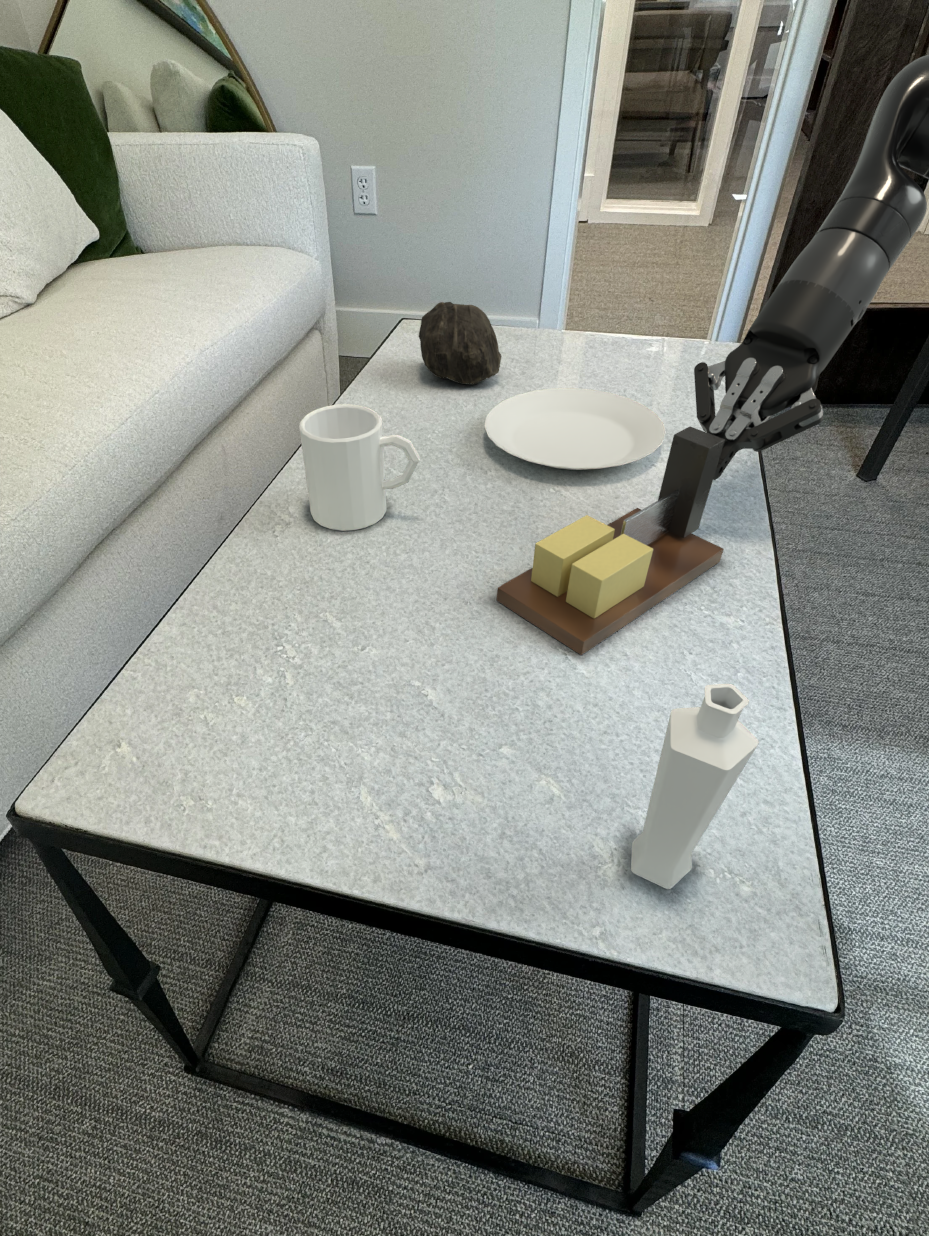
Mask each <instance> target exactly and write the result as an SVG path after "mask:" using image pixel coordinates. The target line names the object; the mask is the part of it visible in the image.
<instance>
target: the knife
mask: <svg viewBox="0 0 929 1236" xmlns="http://www.w3.org/2000/svg"><path fill="white" fill-rule="evenodd" d="M724 441H725V439H722V438H719V437H717V436H714V435H711V434H709V433H707V432H704V430H700V429H698V428H696V427H693V426H688V427H686V428H684V429H682V430H680V431H678V432H676V433H674V434H673V437H672V440H671V445H670V450H669V454H668V457H667V461H666V466H665V470H664V473H663V477H662V482H661V486H660V490H659V494H658V498H657V500H656V501H655V502H653V503H651V504H649V505H647V506H646V507H644V508H641V511H639V512H637V513H636V514H634V515H632V516H630V517H629V518H627V519H625V520H624V522H623V526H622V531H621V535H622V534H625V535H627V536H629V537H631V538H633V539H635V540H637V541H639V542H641V543H643V544H645V545H648V544H650V543H651V542H653V541H655V540H656V539H658V538H660V537H661V536H663V535H665V534H666V533H668V532H669V531H670V532H672V533H674V534H676V535H678V536H680V537H682V538H684V537H686V536H688V535H689V534H691V533H692V534H693V533H694V532H696V531H698V530H699V528H700V524H701V522H702V518H703V514H704V511H705V508H706V505H707V501H708V497H709V496H710V495H709V494H710V491H711V488H712V484H713V482H714V480H713V478H714V475H715V471H716V468H717V465H718V461H719V458H720V455H721V451H722V448H723V445H724Z"/></svg>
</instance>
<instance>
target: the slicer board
mask: <svg viewBox="0 0 929 1236" xmlns="http://www.w3.org/2000/svg"><path fill="white" fill-rule="evenodd" d="M641 510H642V508H639V507H636V508H634V509H633V510H631V511H629V512H627V513H625V514H624V515H622V516H620V517H618V518H616V519H614V520H613V521H612V522H610V523H608V524H607V525H608V526H610V527H612V528H614V529H615V531H614V536H613V540H614V539H615V538H617V537H619V536H620V535H621V531H622V526H623V522H624V520H625V519H627V518H629V517H630V516H632V515H634V514H636V513H637V512H639V511H641ZM647 546H649V547H651V548H653V552H652V556H651V560H650V564H649V568H648V572H647V576H646V580H645V584H644V587H642V588H641V589H639V590H638V591H636V592H635V593H633V594H632V595H630V596H628V597H627V598H625V599H624V600H622V601H621V602H619V603H618V604H616V605H615V606H613V607H611V608H610V609H608V610H607V611H605V612H604V613H602V614H601V615H599V616H598V617H596V618H595V619H594V618H592V617H590V616H589V615H587V614H585V613H584V612H582V611H580V610H579V609H577V608H575V607H574V606H572V605H570V604H569V603H567V602H566V597H567V591H566V592H565V593H563V594H561V595H560V596H558V597H557V596H555V595H554V594H552V593H550V592H549V591H547V590H545V589H544V588H542V587H540V586H539V585H537V584H535V583H534V582H532V581H531V577H532V568H533V567H531V568H529V569H527V570H526V571H524V572H522V573H520V574H518V575H517V576H515V577H513V578H512V579H510V580H508V581H507V582H505V583H503V584H501V585H499V586H498V587H497V588H496V589H497V591H496V601H497V602H498V603H500V604H501V605H503V606H504V607H506V608H507V609H509V610H510V611H512V612H513V613H515V614H516V615H518V616H519V617H521V618H523V619H524V620H525V621H527V622H529V623H531V624H532V625H534V626H535V627H537V628H538V629H540V630H541V631H543V632H545V633H546V634H547V635H549V636H550V637H552V638H554V639H555V640H557V642H560V643H561V644H563V645H565V646H566V647H568V648H569V649H571V650H572V651H574V652H575V653H577V654H578V655H580V656H582V655H584V654H585V653H588V652H589V651H590V650H592V649H594V648H595V647H596V646H598V645H599V644H600V643H602V642H604V641H605V640H607V639H608V638H609V637H611V636H612V635H614V634H615V633H617V632H618V631H620V630H621V629H622V628H624V627H626V626H627V625H628V624H630V623H631V622H633V621H634V620H636V619H637V618H639V617H641V616H642V615H644V614H645V613H646V612H648V611H649V610H651V609H652V608H654V607H655V606H657V605H658V604H659V603H661V602H663V601H664V600H666V599H667V598H669V597H670V596H671V595H673V594H674V593H676V592H677V591H679V590H680V589H683V588H684V587H685V586H686V585H688V584H689V583H691V582H692V581H694V580H695V579H696V578H699V576H702V575H703V574H704V573H706V572H707V571H708V570H710V569H711V568H713V567H715V566H716V565H718V564H719V563H720V562H721V559H722V556H723V553H724V550H725V548H723V547H721V546H719V545H717V544H715V543H713V542H711V541H709V540H706V539H705V538H702V537H700V536H698V535H696V534H693V532H692V533H691V534H689V535H688V536H686V537H684V538H682V537H680V536H678V535H676V534H674V533H672V532H670V531H669V532H668V533H666V534H665V535H663V536H661V537H660V538H658V539H656V540H655V541H653V542H651V543H650V544H648V545H647Z"/></svg>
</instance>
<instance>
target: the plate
mask: <svg viewBox="0 0 929 1236" xmlns="http://www.w3.org/2000/svg"><path fill="white" fill-rule="evenodd" d="M483 425H484V426H483V427H484V429H485V432H486V435H487V438H488V439H489V440H491V442H492V443H493V444H494V445H495V446H496V447H497V448H499V449H501V450H503V451H505V452H506V453H508V454H509V455H511V456H514V457H516V458H519V459H521V460H524V461H527V462H529V463H533V464H537V465H541V466H546V467H548V468H549V467H550V468H554V469H560V470H568V471H582V470H583V471H584V470H585V471H586V470H587V471H588V470H598V469H600V470H601V469H607V468H614V467H620V466H623V465H627V464H632V463H634V462H638V461H640V460H642V459H644V458H646V457H647V456H650V455H651V454H653V453H655V452H656V451H657V449H658V448H659V447H660V446H661V445H662V444H663V443H664V440H665V437H666V435H667V434H666V433H667V432H666V428H665V424H664V421H663V420H662V419H661V418H660V417H659V415H658V414H657V413H656V412H655V411H653V410H652V409H650V408H649V407H648V406H647V405H645V404H642V403H640V402H638V401H636V400H634V399H632V398H630V397H626V396H623V395H620V394H616V393H613V392H609V391H603V390H597V389H590V388H580V387H579V388H578V387H552V388H543V389H537V390H530V391H527V392H522V393H519V394H516V395H513V396H511V397H508V398H506V399H504V400H502V401H500V402H499V403H498V404H496V405H495V406H493V407H492V408H491V409H490V410H489V412H488V413H487V415H486V416H485V418H484V424H483Z"/></svg>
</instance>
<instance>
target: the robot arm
mask: <svg viewBox="0 0 929 1236" xmlns="http://www.w3.org/2000/svg"><path fill="white" fill-rule="evenodd" d="M866 133H867V134H866V137H865V140H864V143H863V146H862V149H861V152H860V154H859V157H858V159H857V162H856V165H855V166H854V169H853V172H852V174H851V175H850V178H849V180H848V182H847V183H846V185H845V188H844V189H843V191H842V193H841V194H840V196H839V198H838V199H837V201H836V203H835V204H834V206H832V209H831V210H830V212H829V214H828V215H827V216H826V218H825V219H824V221H823V222H822V224H821V225H820V227H819V228H818V230H817V231H816V232H815V234H814V236H813V237H812V239H811V240H810V241H809V242H808V244H807V245H806V246H805V247H804V248H803V250H802V251H801V252H800V253H799V255H798V256H796V259H794V261H793V262H792V263H791V265H790V266H789V268H788V270H787V271H786V273H785V274H784V276H783V277H782V278H781V280H780V281H779V283H778V284H777V286H776V288H775V289H774V291H773V292H772V293H771V295H770V297H769V298H768V299H767V301H766V302H765V304H764V306H763V307H762V309H761V310H760V311H759V313H758V315H757V316H756V318H755V319H754V321H753V322H752V324H751V325H750V326H749V329H748V330H747V332H746V334H745V336H744V338H743V340H742V342H741V343H740V344H739V345H738V346H736V348H734V349H733V350H731V351H730V352H729V353H728V354H727V356H726V358H725V359H724V360H723V361H720V362H717V363H714V364H712V365H708V363H707V362H704V361H702V362H699V363H697V364H696V365H695V366H694V367H693V378H694V392H695V394H694V395H695V409H696V410H695V411H696V418H697V421H698V422H699V424H700V426H701V429H702V431H704V432H706V433H709V434H711V435H714V436H717V437H719V438H722V439H725V441H724V445H723V448H722V451H721V455H720V458H719V461H718V465H717V468H716V471H715V475H714V478H713V481H716V480H717V479H719V478H720V477H721V476H722V475H723V473H724V471H725V470H726V468H727V467H728V466H729V465H730V463H731V462H732V460H733V459H734V457H735V456H736V454H737V453H738V452H739V451H741V450H752V451H753V452H755V453H759V452H762V451H764V450H767V449H769V448H770V447H773V446H776V445H777V444H779V443H781V442H784V441H785V440H787V439H790V438H792V437H794V436H796V435H799V434H800V433H803V432H805V431H807V430H809V429H811V428H813V427H815V426H817V425H820V424H821V423H822V422H823V421H824V410H823V405H822V402H821V400H820V399H818V398H817V397H816V395H815V392H816V390H817V388H818V384H819V383H818V381H819V377H820V374H822V372H823V371H824V370H825V369H826V367H827V366H828V364H829V363H830V361H831V360H832V359H833V357H834V356H835V354H836V353H837V351H838V350H839V349H840V348H841V345H842V344H843V343H844V341H845V340H846V339H847V337H848V336H849V334H850V333H851V331H852V330H853V328H854V327H855V325H857V323H858V322H859V321H860V320H861V319H862V318H863V316H864V315H865V313H866V311H867V309H868V307H869V305H871V302H872V300H874V297H876V294H877V292H878V290H879V289H880V286H881V284H882V283H883V281H884V279H885V277H886V276H887V274H888V273H889V272H890V270H891V268H892V267H893V265H894V264H895V263H896V261H897V260H898V259H899V258H900V256H901V254H902V253H903V251H904V249H905V248H906V247H907V246H908V244H909V242H910V241H911V239H912V238H913V236H914V235H915V233H916V232H917V231H918V229H919V228H920V226H921V225H922V223H923V221H924V218H925V216H926V213H927V209H928V202H927V198H926V194H925V193H924V191H923V189H922V187H920V185H919V184H918V183H917V182H916V181H915V180H914V179H913V178H912V177H911V176H910V175H909V174H908V173H907V172H906V171H905V170H904V169H906V170H908V171H909V172H912V173H914V174H916V175H918V176H921V177H923V178H925V179H927V180H929V54H926V55H923V56H921V57H919V58H916V59H914V60H913V61H911V62H910V63H908V64H907V65H905V66H904V67H903V68H902V70H900V71H899V72H898V73H897V74H896V75H894V77H893V79H892V80H891V81H890V83H889V84H888V85H887V87H886V88H885V90H884V92H883V94H882V96H881V97H880V100H879V101H878V104H877V107H876V109H875V111H874V114H873V116H872V118H871V122H870V125H869V127H868V131H867V132H866ZM903 168H904V169H903ZM723 379H724V390H725V395H723V398H722V400H721V402H720V404H719V410H718V411H717V413H716V401H715V391H717V390H719V388H720V386H721V384H722V380H723ZM788 408H790V409H788ZM786 409H788V410H786ZM785 410H786V411H785ZM782 411H784V412H782ZM780 412H782V413H780ZM778 413H780V414H778ZM776 414H778V415H776ZM774 415H775V416H774ZM772 416H774V417H772Z"/></svg>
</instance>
